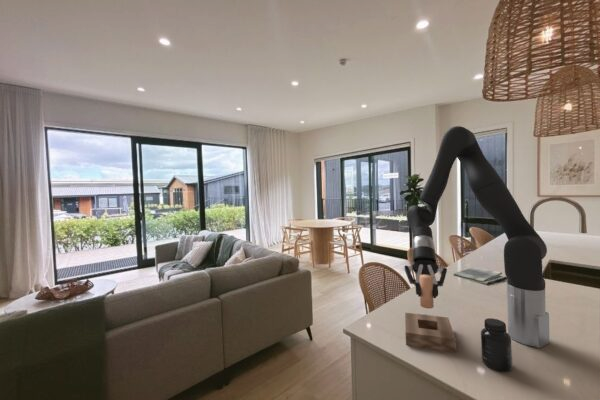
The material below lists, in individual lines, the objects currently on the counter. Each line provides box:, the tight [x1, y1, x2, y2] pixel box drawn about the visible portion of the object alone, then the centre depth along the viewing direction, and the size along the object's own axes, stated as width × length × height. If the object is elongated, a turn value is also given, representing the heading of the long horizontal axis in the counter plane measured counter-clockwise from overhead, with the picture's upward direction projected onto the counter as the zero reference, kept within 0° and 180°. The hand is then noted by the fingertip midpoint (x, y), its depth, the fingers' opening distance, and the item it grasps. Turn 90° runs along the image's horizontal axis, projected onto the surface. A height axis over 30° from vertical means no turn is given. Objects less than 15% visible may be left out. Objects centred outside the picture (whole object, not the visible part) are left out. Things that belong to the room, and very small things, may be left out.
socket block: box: [404, 312, 457, 353], centre depth 88 cm, size 14×14×4 cm
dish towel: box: [453, 267, 507, 286], centre depth 141 cm, size 19×18×3 cm
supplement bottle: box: [480, 317, 513, 373], centre depth 73 cm, size 7×7×12 cm
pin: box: [419, 274, 435, 309], centre depth 88 cm, size 4×4×10 cm
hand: (427, 296), depth 86 cm, fingers closed on pin, 4 cm apart
